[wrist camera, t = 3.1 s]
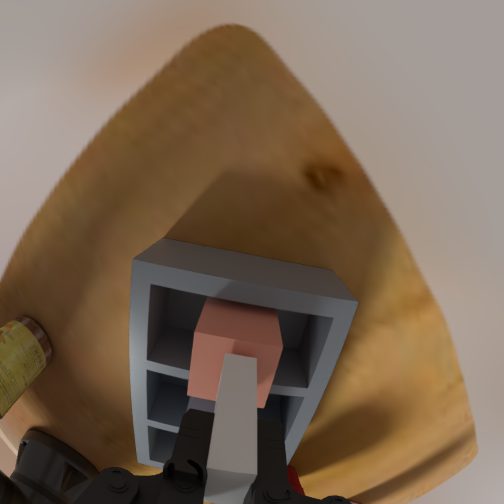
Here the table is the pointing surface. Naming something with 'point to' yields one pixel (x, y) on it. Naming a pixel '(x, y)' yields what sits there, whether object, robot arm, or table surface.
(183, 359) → the grey compartment tray
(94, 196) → the table surface
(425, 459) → the table surface
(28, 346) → the sauce bottle
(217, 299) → the salmon red block
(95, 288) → the table surface
